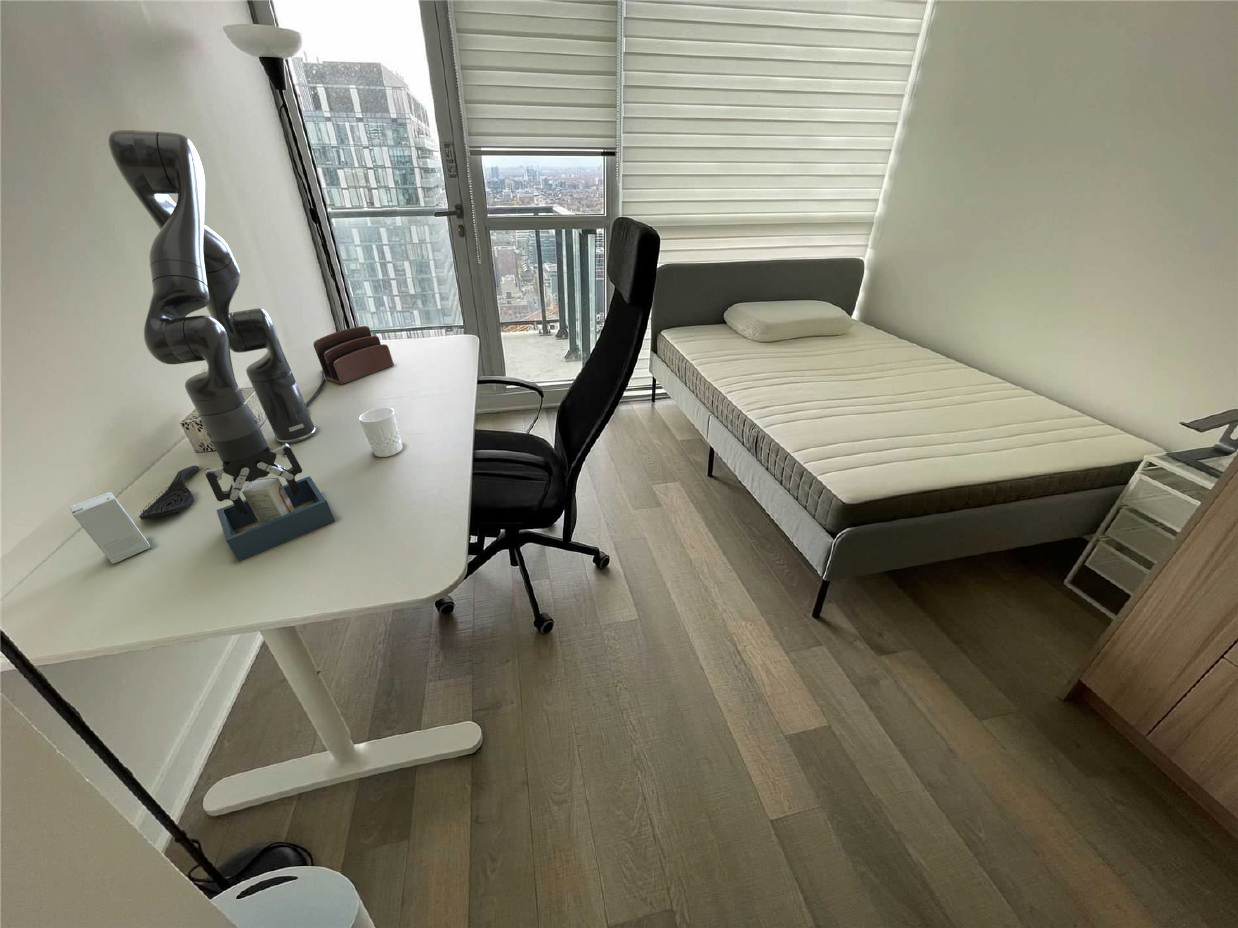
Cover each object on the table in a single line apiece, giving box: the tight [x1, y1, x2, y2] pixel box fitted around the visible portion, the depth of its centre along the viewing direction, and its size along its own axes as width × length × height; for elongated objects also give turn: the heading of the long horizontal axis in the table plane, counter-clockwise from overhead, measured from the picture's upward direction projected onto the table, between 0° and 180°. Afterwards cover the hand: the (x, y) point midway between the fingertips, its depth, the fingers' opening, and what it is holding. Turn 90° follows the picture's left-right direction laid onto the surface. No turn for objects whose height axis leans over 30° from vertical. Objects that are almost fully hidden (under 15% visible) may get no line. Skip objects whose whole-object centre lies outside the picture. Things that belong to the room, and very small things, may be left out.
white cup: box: [358, 406, 403, 458], centre depth 125 cm, size 8×8×10 cm
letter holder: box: [313, 325, 395, 386], centre depth 172 cm, size 10×20×14 cm, turn 144°
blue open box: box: [216, 475, 336, 562], centre depth 102 cm, size 13×17×5 cm
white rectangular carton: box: [241, 477, 296, 525], centre depth 100 cm, size 5×4×10 cm
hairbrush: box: [138, 465, 200, 521], centre depth 114 cm, size 8×4×25 cm
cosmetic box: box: [69, 491, 151, 565], centre depth 95 cm, size 6×4×12 cm
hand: (271, 503), depth 100 cm, fingers open, 8 cm apart
